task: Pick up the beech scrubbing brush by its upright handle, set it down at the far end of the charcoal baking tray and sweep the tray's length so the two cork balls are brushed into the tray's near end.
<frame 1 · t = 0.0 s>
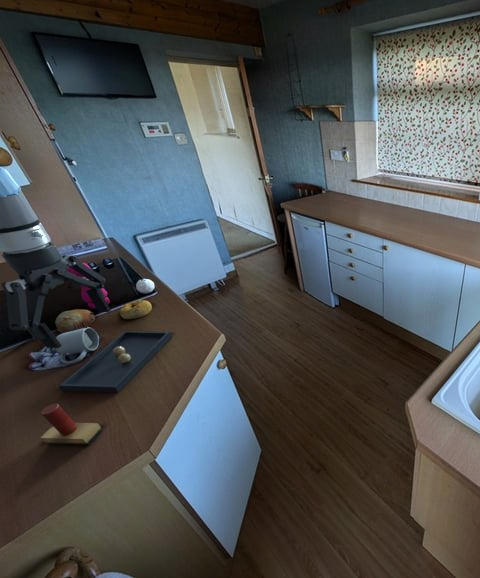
hand: (81, 327, 71), 22 cm above the worktop, tool pointing down, fingers open, 13 cm apart
ceramic mug: (82, 353, 95), on the worktop
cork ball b: (124, 358, 90), point 2 cm above the worktop, touching tray
bagel: (138, 313, 113), on the worktop
tray: (123, 361, 92), on the worktop
pepper mill: (100, 304, 118), on the worktop
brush: (76, 437, 71), on the worktop
bread roll: (78, 325, 107), on the worktop
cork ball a: (119, 351, 92), point 2 cm above the worktop, touching tray
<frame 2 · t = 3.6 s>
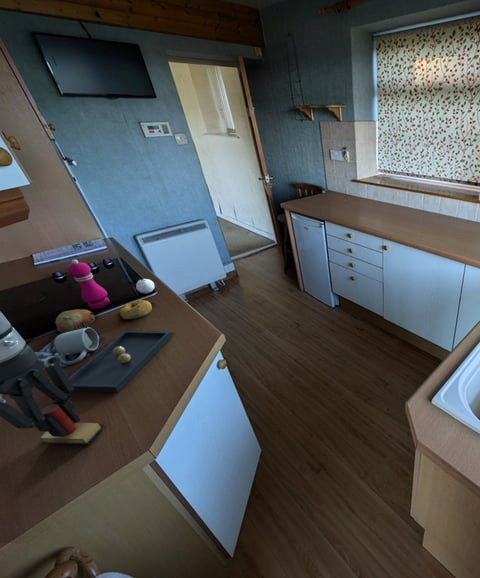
hand: (66, 427, 68), 4 cm above the worktop, tool pointing down, fingers closed on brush, 3 cm apart
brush: (76, 437, 71), on the worktop, touching gripper
everything else where it was.
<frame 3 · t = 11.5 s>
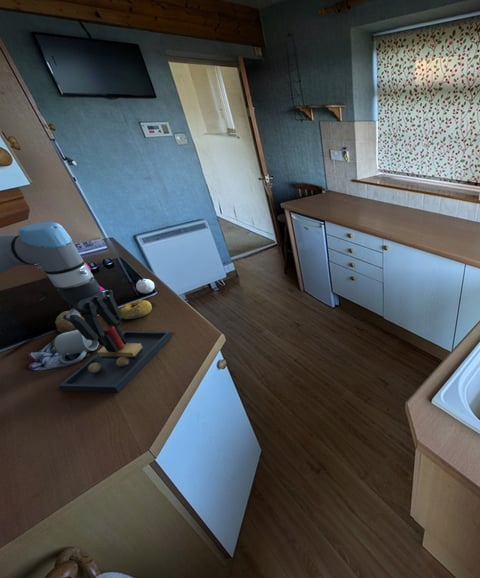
hand: (117, 346, 90), 5 cm above the worktop, tool pointing down, fingers closed on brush, 3 cm apart
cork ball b: (122, 361, 89), point 2 cm above the worktop, tilted 54°, touching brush, tray
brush: (123, 354, 92), point 2 cm above the worktop, touching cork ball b, gripper
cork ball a: (94, 367, 86), point 2 cm above the worktop, tilted 91°, touching tray
everything else where it was.
when the fingers open (5 cm above the worktop, at t = 13.0 s): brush moves 1 cm, resting on tray.
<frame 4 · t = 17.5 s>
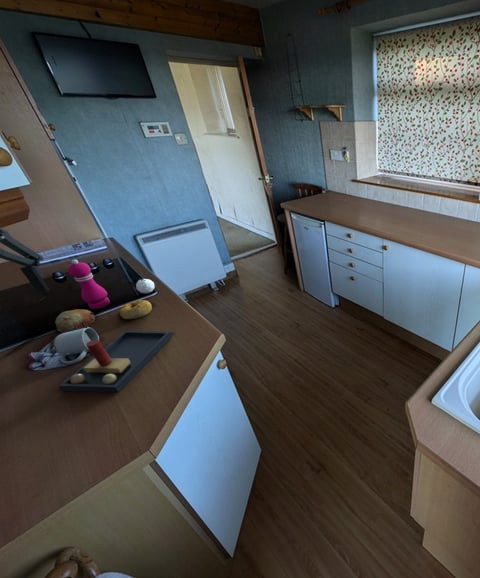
hand: (13, 306, 68), 29 cm above the worktop, tool pointing down, fingers open, 13 cm apart
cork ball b: (109, 379, 83), point 2 cm above the worktop, tilted 69°, touching tray
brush: (111, 370, 88), point 1 cm above the worktop, touching tray
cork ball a: (78, 379, 83), point 2 cm above the worktop, tilted 80°, touching tray
everything else where it was.
at the end: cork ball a inside the target area in the tray (4.9 cm from its centre), point 2.3 cm above the tray's base; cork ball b inside the target area in the tray (4.3 cm from its centre), point 2.3 cm above the tray's base; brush inside the target area in the tray (4.5 cm from its centre), point 0.8 cm above the tray's base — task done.
